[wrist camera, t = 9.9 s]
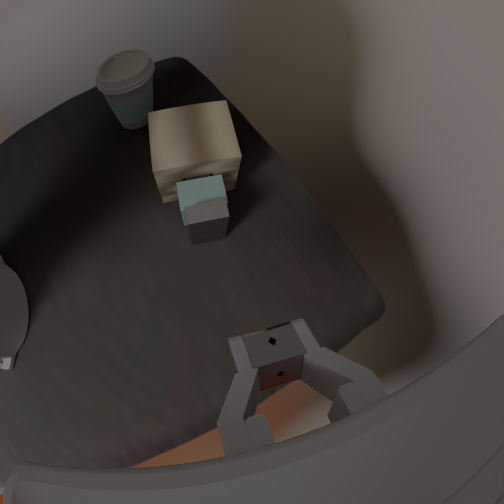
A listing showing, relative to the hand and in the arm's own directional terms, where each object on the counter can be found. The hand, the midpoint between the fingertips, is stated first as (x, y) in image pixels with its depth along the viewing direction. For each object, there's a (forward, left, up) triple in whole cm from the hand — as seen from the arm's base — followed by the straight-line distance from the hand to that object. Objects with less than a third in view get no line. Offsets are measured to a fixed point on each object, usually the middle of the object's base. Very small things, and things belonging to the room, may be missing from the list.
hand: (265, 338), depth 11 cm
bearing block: (0, +22, -25) cm, 33 cm away
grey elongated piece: (0, +20, -25) cm, 32 cm away
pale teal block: (0, +15, -24) cm, 28 cm away
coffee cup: (-8, +34, -25) cm, 43 cm away
